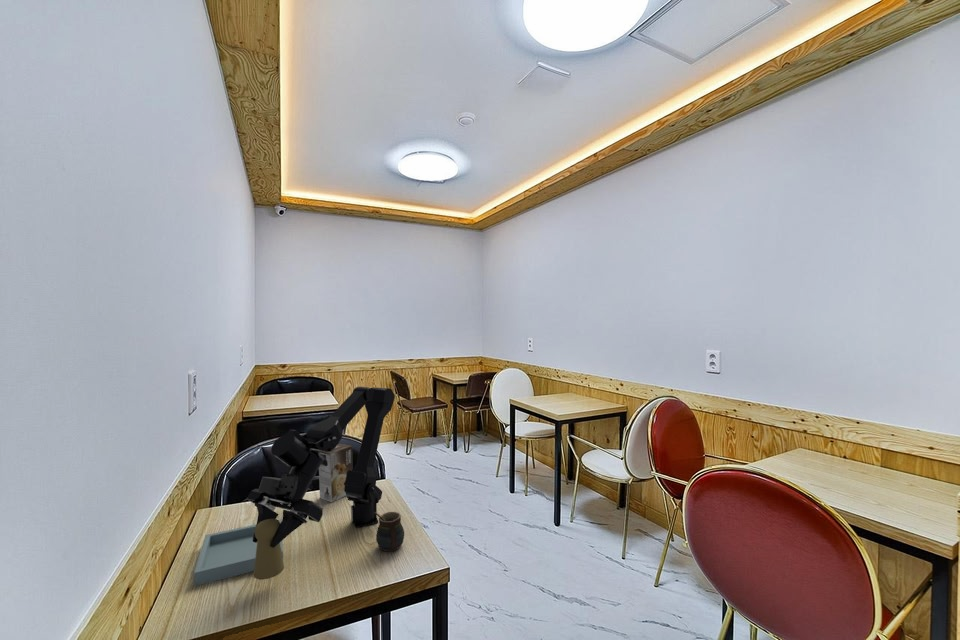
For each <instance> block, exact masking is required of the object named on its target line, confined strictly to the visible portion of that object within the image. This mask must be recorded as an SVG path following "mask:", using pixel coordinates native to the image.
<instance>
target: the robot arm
mask: <svg viewBox="0 0 960 640" xmlns="http://www.w3.org/2000/svg"><path fill="white" fill-rule="evenodd" d="M395 396H396V395H395V393H394V391H393V389H391V388H387V387H376V386H373V387H368V386H356V387H354V389H353V390H352V392H351V393H350V395H349V396H348V397H347V398H346V399H345V400H344V401H343V402H342V403H341V404H340V405H339V407H337V409H335V411H334V412H333V413H332V414H331V415H330V416H328V418H325V419H323V420H320V421H319V422H317V423H316V424H314V425H313V426H312V427H311V428H310V429H308V430H307V431H306V432H305V433H303V434H302V435H301V434H300V432H299V431H298V430H296V429H289V430H288V431H287V432H286V433H285V434H283V435H280V436H279V437H278V438H277V439H275V441H273V443H272V445H271V451H270V452H271V454H272V455H273V456H274V457H275V458H277V459H278V460H280V461H281V462H282V463H283V464H285V465H286V466H287V467H290V468H291V469H290V470H289V473H287V472H284V473H283V474H281V477H280V478H278V477H270V476H262V477H261V481H260V484H259V487H258V488H254V489H252V490H251V491H250V492H249V494H248V495H247V497H246V499H245V500H248V501H249V502H251V503H252V504H254V507H256V509H257V518H256V524H255V525H256V526H257V524H258V523H260V522H261V521H263V520H266V519H277V518H278V517H279V515H280V514H279V513H278V512H276V511H275V510H276V508H279V509H282V518H281V521H282V522H281V523H280V525H279V527H278V529H277V531H276V533H275V535H274V537H273V539H272V541H271V544H270V547H272V548H274V547H275V546H276V545H278V544H279V543H280V542H281V541H282V542H283V541H284V539H285V538H287V537H288V536H289V535H291V534H292V533H293V532H295V530H296V529H298V528H300V526H302V525H303V524H307V523H308V520H309V521H313V522H316V523H320V521H321V518H322V517H323V515H324V513H323V509H324V508H322V507H321V506H320V505H318V504H317V503H315V502H314V501H313V500H309V499H305V498H304V497H305V495H306V493H307V491H308V490H309V491H312V490H313V488H314V485H313V484H312V482H313V481H314V479H315V476H316V475H317V473H318V472H319V467H320V466H327V465H328V462H327V460H326V455H322V454H319V451H324V452H331V451H332V450H334V449H335V447H336V446H337V444H340V441H341V439H342V437H343V434H344V433H343V432H344V429H346V427H347V425H349V423H350V422H351V421H352V420H353V419H354V417H355V416H356V415H358V414H359V412H360V411H361V410H362V408H365V410H366V415H367V416H366V422H365V426H364V430H363V433H362V434H363V435H362V439H361V443H360V448H359V451H358V456H357V459H356V463H355V466H353V469H352V470H348V472H347V475H346V480H345V482H344V485H345V487H344V492H345V493H346V498H347V501H349V502H350V501H351V502H352V505H350V517H351V518H350V519H351V523H352V524H353V525H354V527H355V528H361V527H365V526H369V525H374V524H378V523H379V518H378V516H377V515H376V514H375V513H374V512H376V513H377V512H378V511H377V510H378V507H377V505H378V503H379V502H380V500H381V499H382V496H383V490H381V489H380V487H378V486H377V474H376V471H375V468H374V466H375V461H376V458H377V457H376V456H377V452H378V447H379V442H380V439H381V438H380V437H381V433H382V430H383V424H384V419H385V418H386V417H387V415H388V414H389V413H390V412H391V410H392V408H393V405H394V401H395V399H396V397H395ZM317 451H318V452H317ZM377 514H378V513H377ZM307 519H308V520H307ZM252 541H253V542H255V543H257V541H258V539H256V537H255V532H254V536H253V540H252Z"/></svg>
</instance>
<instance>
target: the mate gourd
mask: <svg viewBox="0 0 960 640" xmlns="http://www.w3.org/2000/svg"><path fill="white" fill-rule="evenodd" d="M374 513H375V514H376V515H377V518H378V523H379V524H378V527H377V530H376V535H375V537H376V539H375V540H376V543H377V546H378V548H379V549H380V550H383V551H384V552H395V551H396V550H398V549H399V548H400V547H401V546H402V544H403V543H404V538H405V530H404V527H403V525H402V522H401V521H402V515H401V513H399V512H397V511H388V512H385V513H382V514H381V515H380V514H379V513H376V512H374Z"/></svg>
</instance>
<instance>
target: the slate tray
mask: <svg viewBox="0 0 960 640" xmlns="http://www.w3.org/2000/svg"><path fill="white" fill-rule="evenodd" d="M278 520H279V522H280V523H281V522H282V518H280V519H278ZM255 528H256V524H252V525H247V526H243V527H237V528H233V529H227V530H222V531H218V532H213V533H210V534H209V533H208V534H205V536H204V539H203V542H202V545H201V548H200V552H199V556H198V558H197V561H196V565H195V568H194V571H193V579H194V580H193V582H194V583H193V586H194V587H196V586H200V585H204V584H208V583H213V582H217V581H220V580H224V579H228V578H231V577H235V576H239V575H243V574H247V573H252V572H254V566H255V558H256V549H257V543H255V542H253V541H252V540H253V536H254V532H255ZM283 545H284V544H283V540H282V541H281V542H280V547H281V552H282V558H283V559H284V549H283Z"/></svg>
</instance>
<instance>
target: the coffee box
mask: <svg viewBox="0 0 960 640" xmlns="http://www.w3.org/2000/svg"><path fill="white" fill-rule="evenodd" d="M318 454H322V455H326V460H327V462H328V465H327V466H320V467H319V469H318V476H319V477H318V479H319V480H318V481H319V499H321V500H324V501H327V502H330V503H333V502H336V501H338V500H340V499H342V498H344V497H347V495H346V493H345V492H344V487H345V485H344V482H345V480H346V475H347V472H348V470H352V469H353V468H354V465H353V464H354V463H353V462H354V461H353V459H354V458H353V445H350V444H344V443H338V444H337V446H336V447H335V449H334V450H332V451H331V452H324V451H318Z"/></svg>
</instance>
